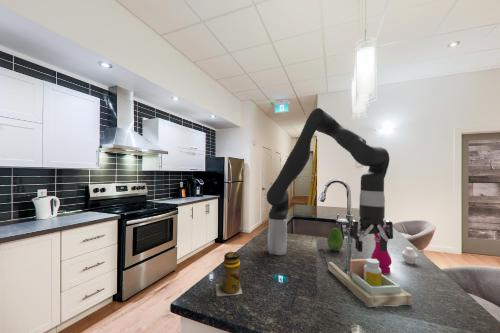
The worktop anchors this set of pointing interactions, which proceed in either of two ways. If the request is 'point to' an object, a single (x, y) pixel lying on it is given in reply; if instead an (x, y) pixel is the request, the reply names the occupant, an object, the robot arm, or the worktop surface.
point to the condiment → (230, 276)
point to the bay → (368, 298)
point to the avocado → (335, 239)
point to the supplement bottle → (372, 272)
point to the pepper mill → (381, 256)
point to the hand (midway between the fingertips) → (371, 251)
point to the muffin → (409, 255)
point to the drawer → (357, 276)
